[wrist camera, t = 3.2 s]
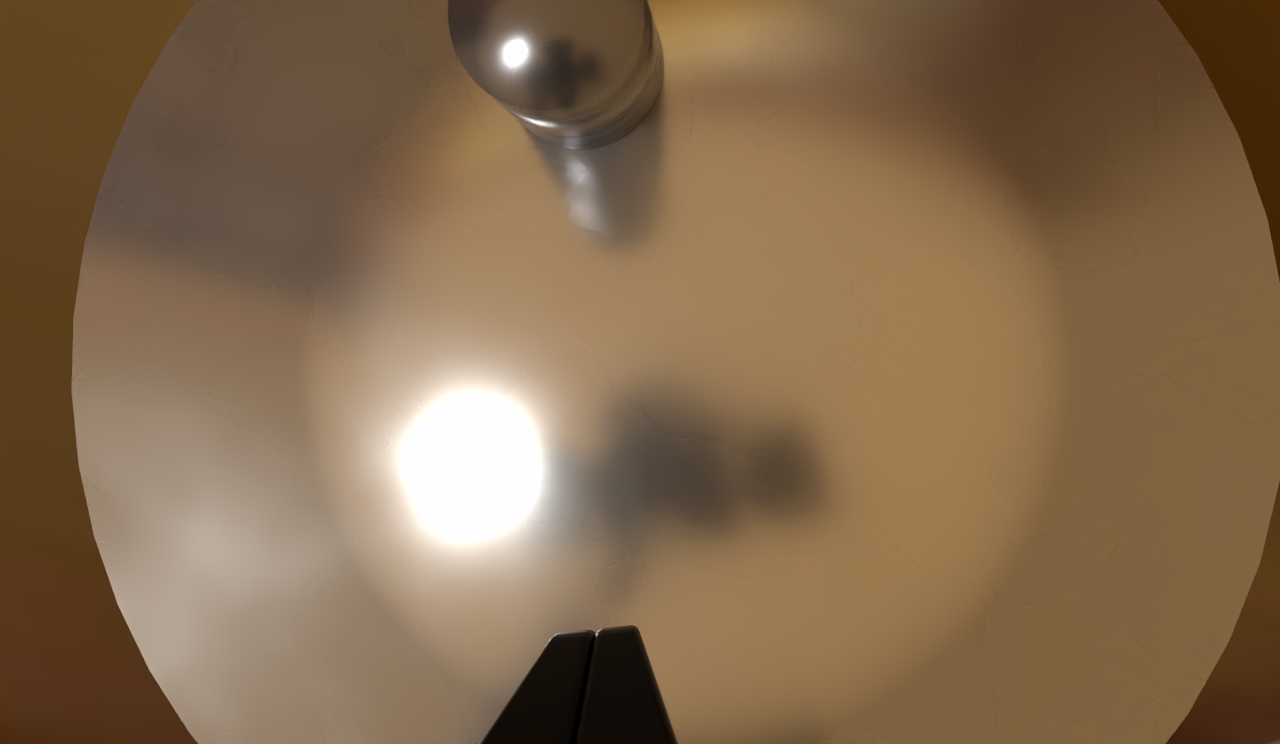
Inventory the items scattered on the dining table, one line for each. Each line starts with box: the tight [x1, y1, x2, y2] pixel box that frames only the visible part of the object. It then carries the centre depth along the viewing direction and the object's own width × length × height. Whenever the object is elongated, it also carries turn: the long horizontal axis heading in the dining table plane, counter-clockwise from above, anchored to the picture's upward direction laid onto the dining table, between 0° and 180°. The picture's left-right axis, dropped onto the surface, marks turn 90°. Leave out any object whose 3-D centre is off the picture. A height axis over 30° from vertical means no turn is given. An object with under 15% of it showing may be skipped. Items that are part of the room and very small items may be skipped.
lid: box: [72, 0, 1280, 744], centre depth 11 cm, size 18×15×3 cm
